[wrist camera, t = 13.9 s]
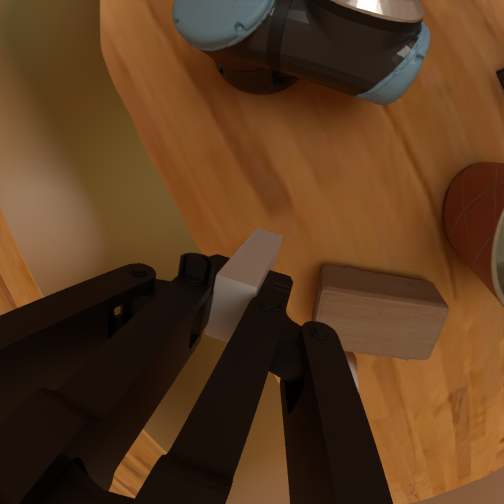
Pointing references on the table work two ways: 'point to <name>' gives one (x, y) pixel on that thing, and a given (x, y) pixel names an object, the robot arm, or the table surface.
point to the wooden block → (380, 312)
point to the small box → (501, 76)
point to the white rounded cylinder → (352, 365)
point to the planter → (479, 222)
